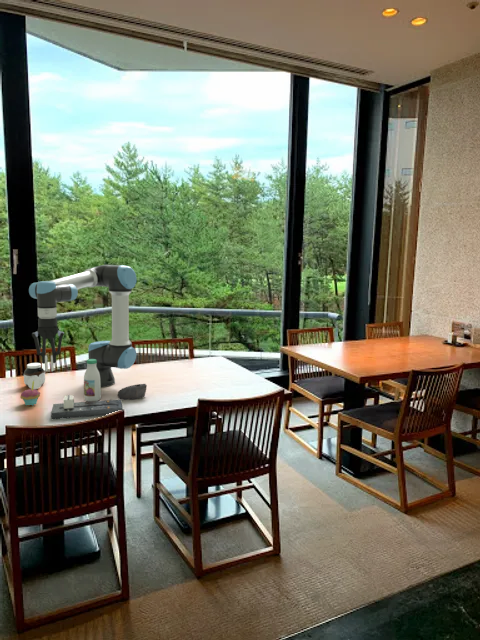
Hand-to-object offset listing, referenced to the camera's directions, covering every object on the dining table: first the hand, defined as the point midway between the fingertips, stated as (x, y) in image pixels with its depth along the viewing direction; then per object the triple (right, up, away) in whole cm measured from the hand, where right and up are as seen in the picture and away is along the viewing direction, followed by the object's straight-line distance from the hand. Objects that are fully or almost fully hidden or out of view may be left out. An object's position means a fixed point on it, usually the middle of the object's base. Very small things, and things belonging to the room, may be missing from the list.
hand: (49, 370), depth 210 cm
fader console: (+14, -20, +8) cm, 26 cm away
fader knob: (+7, -17, +5) cm, 19 cm away
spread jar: (-25, -13, +43) cm, 52 cm away
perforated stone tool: (+30, -17, +28) cm, 45 cm away
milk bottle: (+11, -17, +25) cm, 33 cm away
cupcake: (-15, -18, +16) cm, 29 cm away
